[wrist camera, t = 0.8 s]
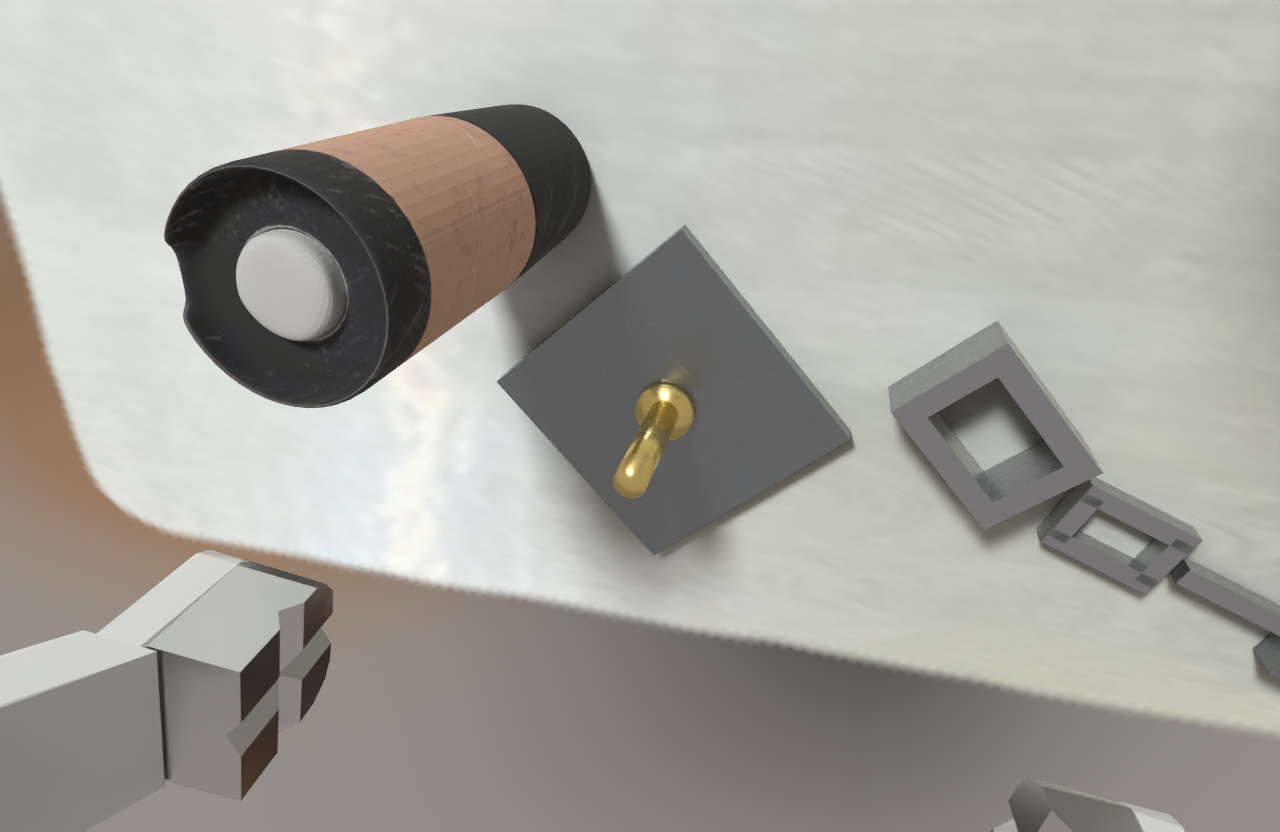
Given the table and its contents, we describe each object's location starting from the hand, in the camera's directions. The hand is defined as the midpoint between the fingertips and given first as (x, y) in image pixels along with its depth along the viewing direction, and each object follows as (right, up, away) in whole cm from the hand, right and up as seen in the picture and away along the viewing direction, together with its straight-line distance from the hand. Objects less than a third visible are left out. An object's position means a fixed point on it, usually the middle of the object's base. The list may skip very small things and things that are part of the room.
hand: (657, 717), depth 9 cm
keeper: (+1, +4, +35) cm, 35 cm away
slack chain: (+29, -5, +32) cm, 43 cm away
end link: (+17, +4, +31) cm, 35 cm away
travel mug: (-6, +16, +31) cm, 36 cm away
